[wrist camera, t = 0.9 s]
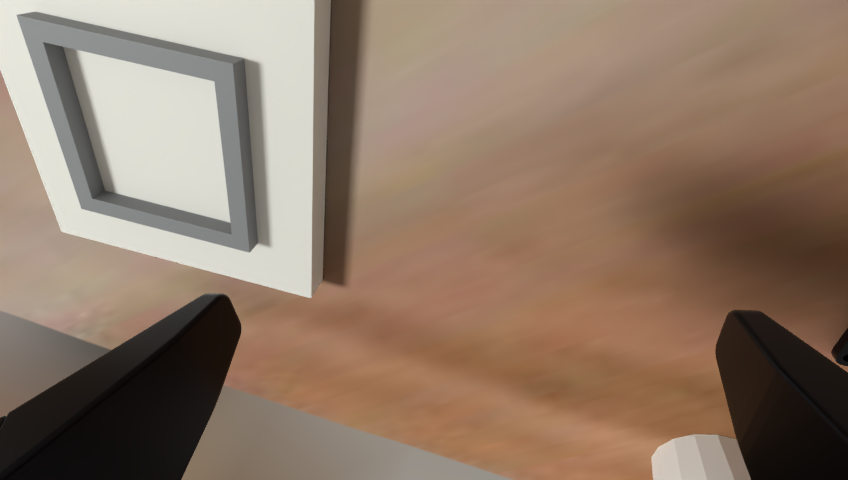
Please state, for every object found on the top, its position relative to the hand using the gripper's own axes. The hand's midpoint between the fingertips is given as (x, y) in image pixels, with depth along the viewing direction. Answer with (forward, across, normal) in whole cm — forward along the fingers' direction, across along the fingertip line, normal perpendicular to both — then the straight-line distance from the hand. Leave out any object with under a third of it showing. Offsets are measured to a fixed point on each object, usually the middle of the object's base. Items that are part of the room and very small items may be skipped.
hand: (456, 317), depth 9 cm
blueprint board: (+12, +14, +1) cm, 19 cm away
